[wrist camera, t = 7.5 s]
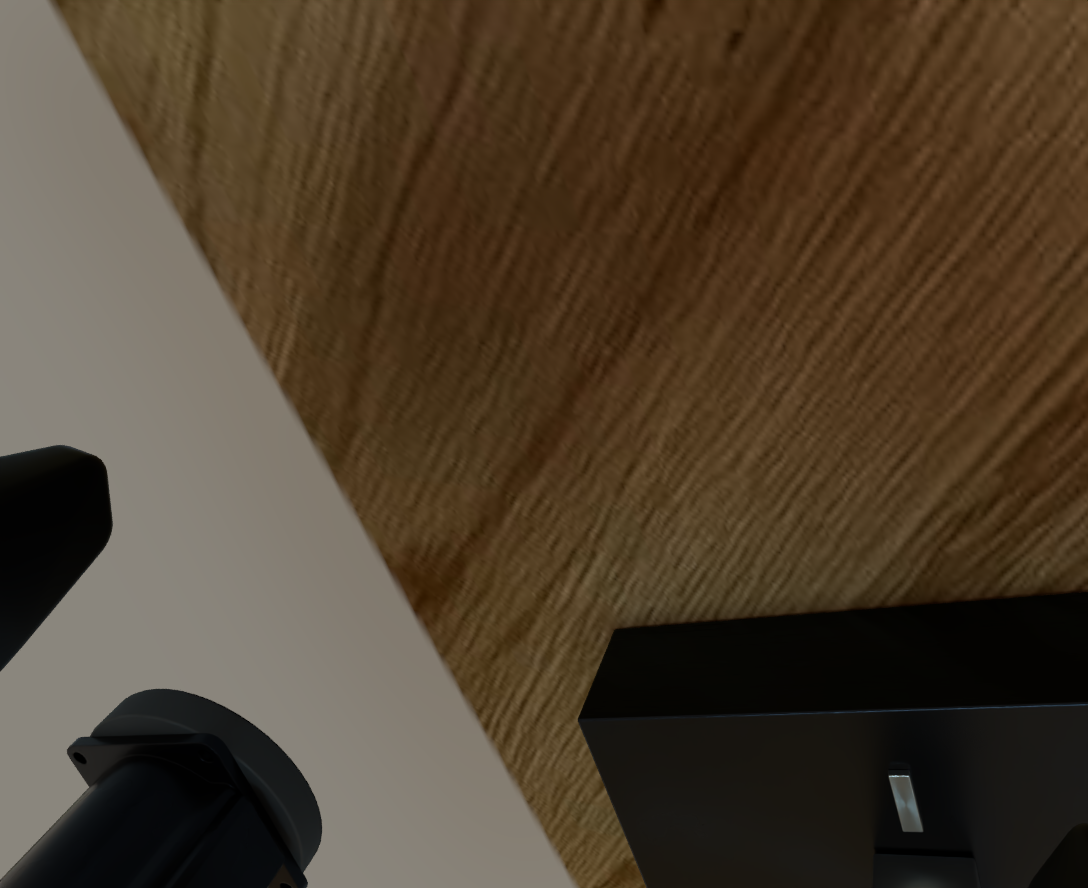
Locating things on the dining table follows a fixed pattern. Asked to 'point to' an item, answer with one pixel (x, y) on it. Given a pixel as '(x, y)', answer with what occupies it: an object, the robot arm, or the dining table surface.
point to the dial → (924, 872)
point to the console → (846, 741)
